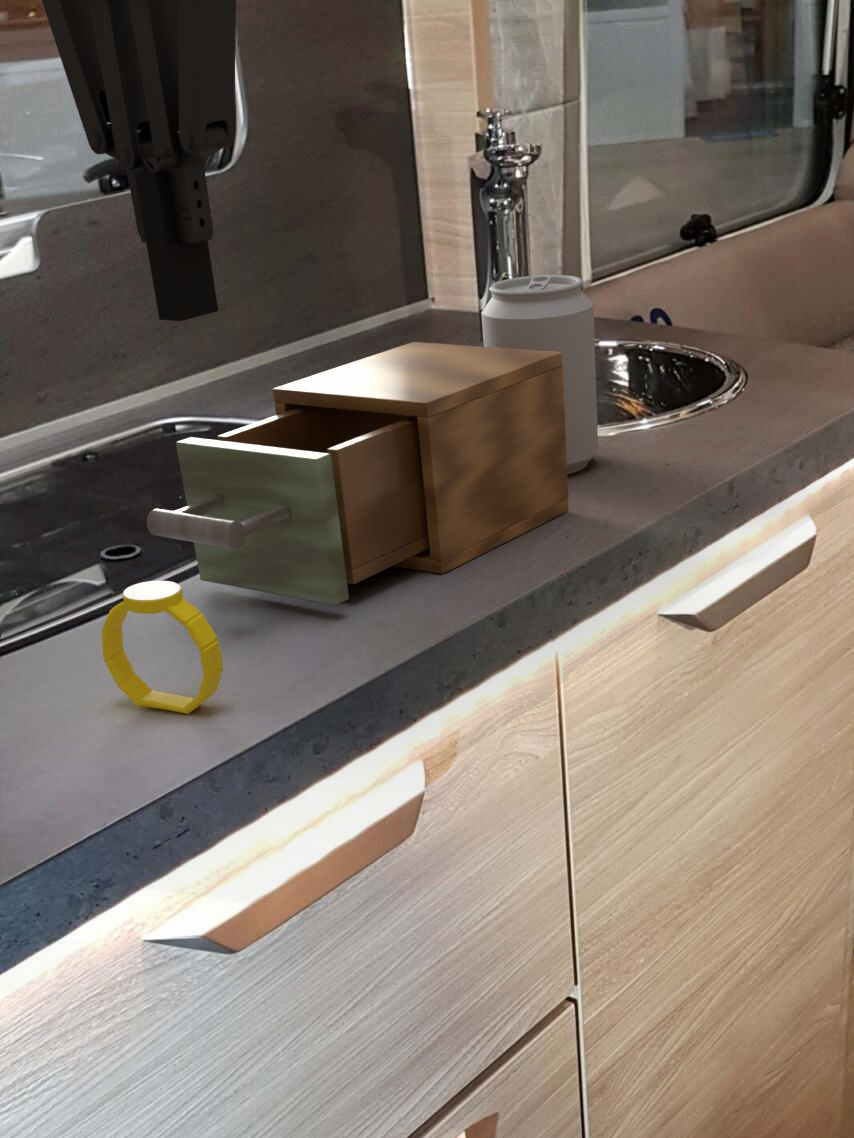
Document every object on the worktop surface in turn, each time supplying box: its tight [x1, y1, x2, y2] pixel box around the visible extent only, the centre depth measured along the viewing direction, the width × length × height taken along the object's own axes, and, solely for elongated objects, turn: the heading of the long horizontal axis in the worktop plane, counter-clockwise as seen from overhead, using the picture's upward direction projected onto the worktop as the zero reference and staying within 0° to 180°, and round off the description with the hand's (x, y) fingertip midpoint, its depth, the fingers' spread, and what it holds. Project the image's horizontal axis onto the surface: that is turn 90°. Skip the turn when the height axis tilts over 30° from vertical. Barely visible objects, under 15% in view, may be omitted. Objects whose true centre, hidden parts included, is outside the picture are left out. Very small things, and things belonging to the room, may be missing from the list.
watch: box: [100, 580, 224, 715], centre depth 75 cm, size 6×3×6 cm, turn 68°
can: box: [481, 274, 599, 475], centre depth 105 cm, size 8×8×12 cm
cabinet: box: [272, 341, 570, 575], centre depth 95 cm, size 14×12×10 cm
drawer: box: [146, 406, 430, 606], centre depth 88 cm, size 18×10×8 cm, turn 145°
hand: (189, 314), depth 78 cm, fingers closed
